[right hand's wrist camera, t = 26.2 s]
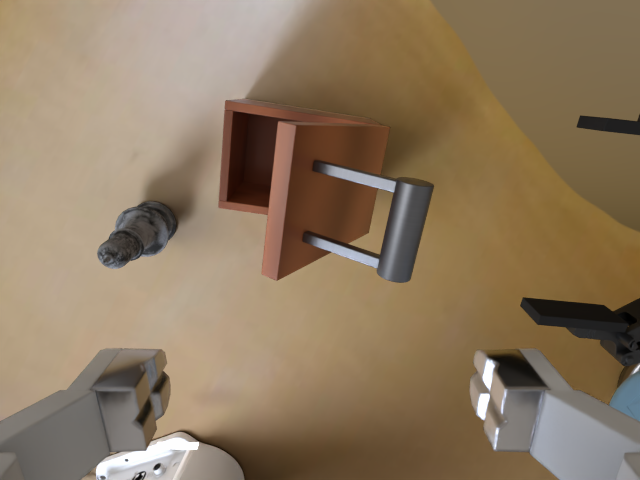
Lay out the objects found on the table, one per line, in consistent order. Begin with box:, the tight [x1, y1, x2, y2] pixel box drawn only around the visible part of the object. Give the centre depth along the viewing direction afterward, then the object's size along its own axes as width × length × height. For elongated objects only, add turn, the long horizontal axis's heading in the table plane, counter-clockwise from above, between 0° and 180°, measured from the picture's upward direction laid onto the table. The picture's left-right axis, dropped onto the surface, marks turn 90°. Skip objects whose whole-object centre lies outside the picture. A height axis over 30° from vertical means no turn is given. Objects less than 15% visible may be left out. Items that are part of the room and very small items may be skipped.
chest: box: [218, 99, 381, 215], centre depth 41 cm, size 14×10×10 cm
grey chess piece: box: [97, 201, 176, 269], centre depth 43 cm, size 6×6×12 cm
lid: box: [262, 121, 434, 283], centre depth 29 cm, size 14×10×9 cm
